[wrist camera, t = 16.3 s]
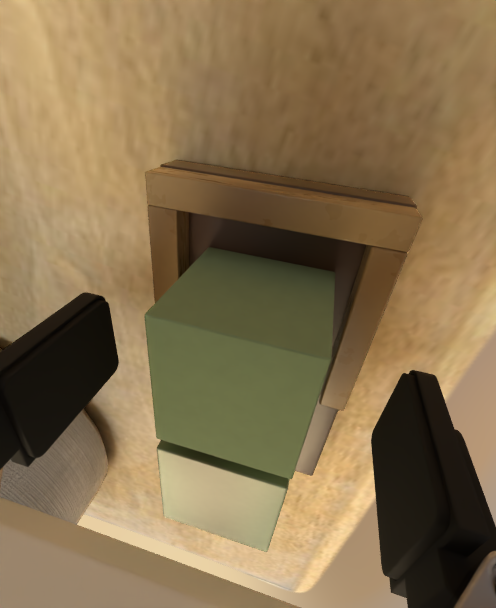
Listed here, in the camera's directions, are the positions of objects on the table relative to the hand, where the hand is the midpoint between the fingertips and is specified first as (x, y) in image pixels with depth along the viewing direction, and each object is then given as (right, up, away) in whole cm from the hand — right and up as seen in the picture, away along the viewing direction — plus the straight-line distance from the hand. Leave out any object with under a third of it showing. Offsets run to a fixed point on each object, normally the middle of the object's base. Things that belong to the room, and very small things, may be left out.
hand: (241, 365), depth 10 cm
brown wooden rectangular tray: (+1, 0, +4) cm, 5 cm away
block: (+1, +1, +2) cm, 3 cm away
